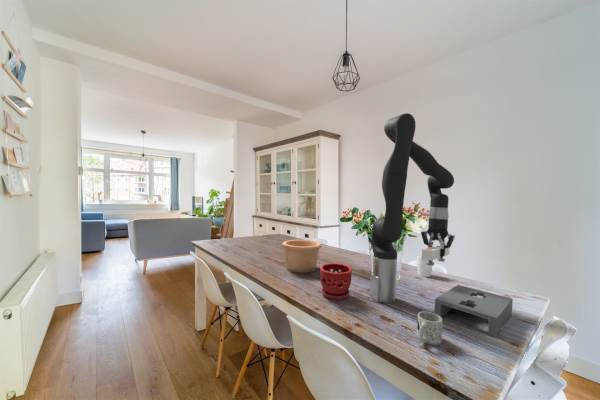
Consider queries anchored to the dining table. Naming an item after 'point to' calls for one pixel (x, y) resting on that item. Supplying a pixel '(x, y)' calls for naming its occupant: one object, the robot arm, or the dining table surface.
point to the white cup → (423, 267)
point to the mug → (429, 328)
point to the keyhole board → (477, 306)
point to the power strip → (433, 254)
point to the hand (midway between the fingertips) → (436, 255)
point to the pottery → (301, 255)
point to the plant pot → (335, 280)
